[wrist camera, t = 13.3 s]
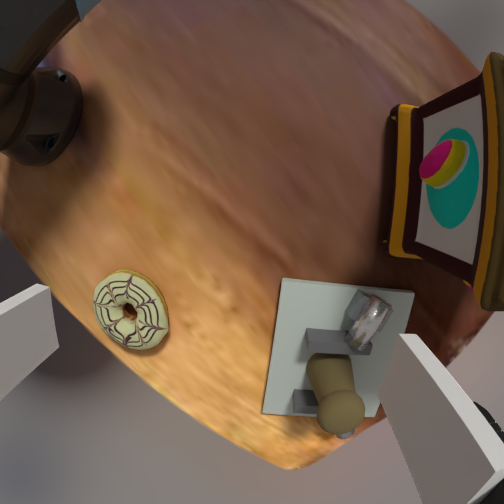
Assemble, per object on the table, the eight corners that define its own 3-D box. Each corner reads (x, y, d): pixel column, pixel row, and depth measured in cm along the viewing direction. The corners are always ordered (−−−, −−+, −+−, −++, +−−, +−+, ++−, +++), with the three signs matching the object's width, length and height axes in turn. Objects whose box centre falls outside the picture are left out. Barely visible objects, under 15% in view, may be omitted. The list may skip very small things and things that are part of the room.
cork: (296, 371, 37) (301, 428, 26) (328, 339, 36) (345, 391, 25) (329, 392, 37) (341, 448, 27) (360, 362, 36) (383, 415, 25)
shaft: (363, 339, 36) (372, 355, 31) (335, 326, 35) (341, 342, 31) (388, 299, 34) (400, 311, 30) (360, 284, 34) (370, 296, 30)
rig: (262, 407, 40) (261, 429, 35) (282, 277, 36) (283, 290, 31) (372, 411, 39) (380, 431, 35) (411, 290, 35) (426, 302, 31)
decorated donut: (131, 351, 40) (120, 364, 36) (91, 288, 39) (76, 296, 35) (187, 324, 38) (179, 337, 35) (143, 253, 37) (130, 259, 33)
